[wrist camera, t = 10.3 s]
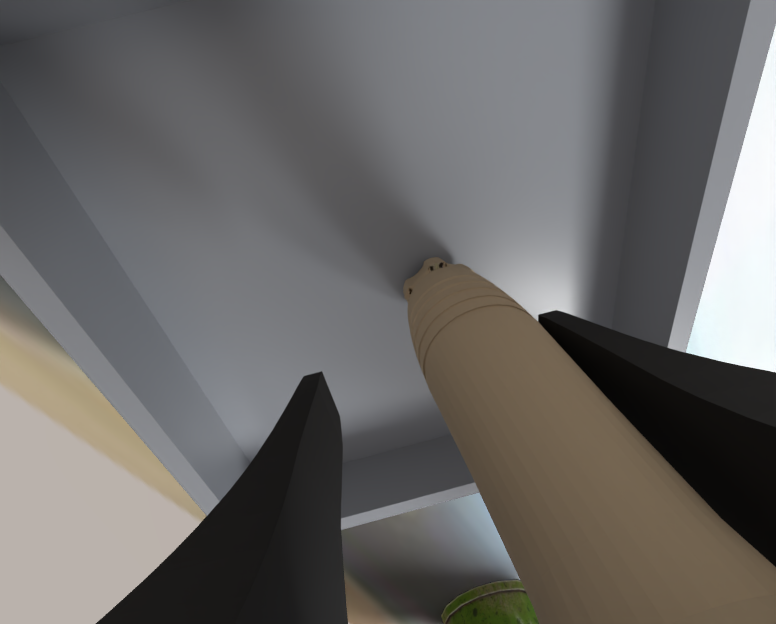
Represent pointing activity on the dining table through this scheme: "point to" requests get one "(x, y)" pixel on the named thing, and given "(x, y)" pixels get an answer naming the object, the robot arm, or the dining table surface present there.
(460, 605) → the lantern
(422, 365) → the handle
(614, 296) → the bin
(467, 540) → the dining table surface
